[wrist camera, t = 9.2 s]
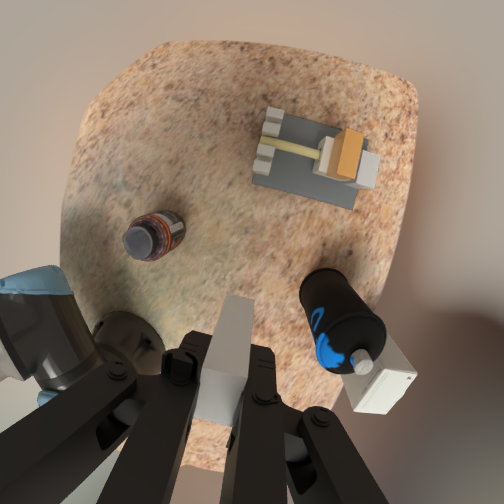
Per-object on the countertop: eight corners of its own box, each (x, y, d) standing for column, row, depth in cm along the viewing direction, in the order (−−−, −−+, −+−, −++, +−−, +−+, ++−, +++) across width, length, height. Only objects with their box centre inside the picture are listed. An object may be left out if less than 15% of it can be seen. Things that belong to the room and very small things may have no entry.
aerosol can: (342, 260, 41) (399, 317, 21) (353, 306, 42) (403, 380, 23) (292, 277, 42) (314, 349, 22) (306, 322, 43) (330, 408, 24)
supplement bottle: (169, 255, 42) (139, 278, 31) (144, 229, 41) (107, 243, 30) (194, 229, 40) (169, 244, 29) (167, 201, 40) (134, 207, 29)
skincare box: (350, 311, 42) (385, 365, 27) (381, 321, 43) (421, 371, 28) (329, 351, 44) (351, 412, 29) (359, 359, 45) (387, 416, 29)
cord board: (252, 183, 39) (249, 181, 31) (269, 113, 36) (270, 95, 28) (349, 209, 39) (368, 214, 31) (365, 141, 36) (386, 132, 28)
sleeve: (311, 174, 34) (327, 170, 25) (319, 139, 33) (337, 124, 24) (339, 183, 34) (363, 182, 25) (347, 148, 33) (372, 137, 24)
